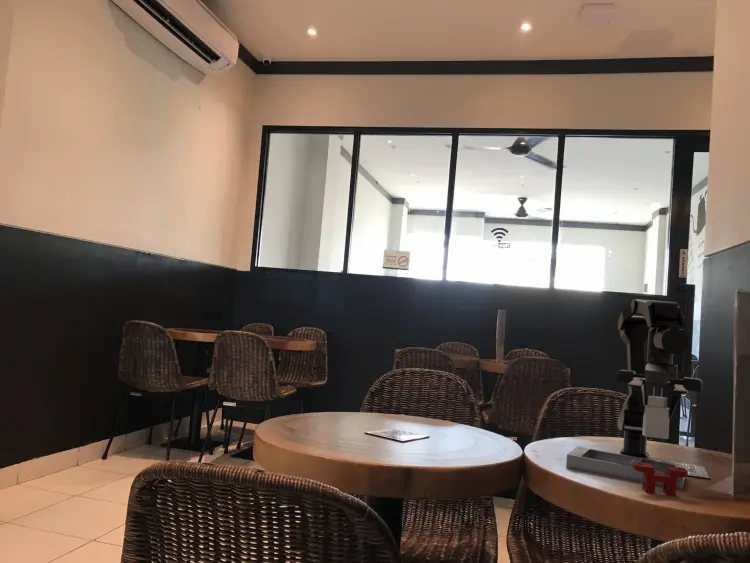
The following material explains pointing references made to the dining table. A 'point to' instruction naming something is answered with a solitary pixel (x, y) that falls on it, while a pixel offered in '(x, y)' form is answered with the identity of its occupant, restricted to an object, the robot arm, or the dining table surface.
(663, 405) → the power adapter
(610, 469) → the grey rectangular tray
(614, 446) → the dining table surface
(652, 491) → the bracket
